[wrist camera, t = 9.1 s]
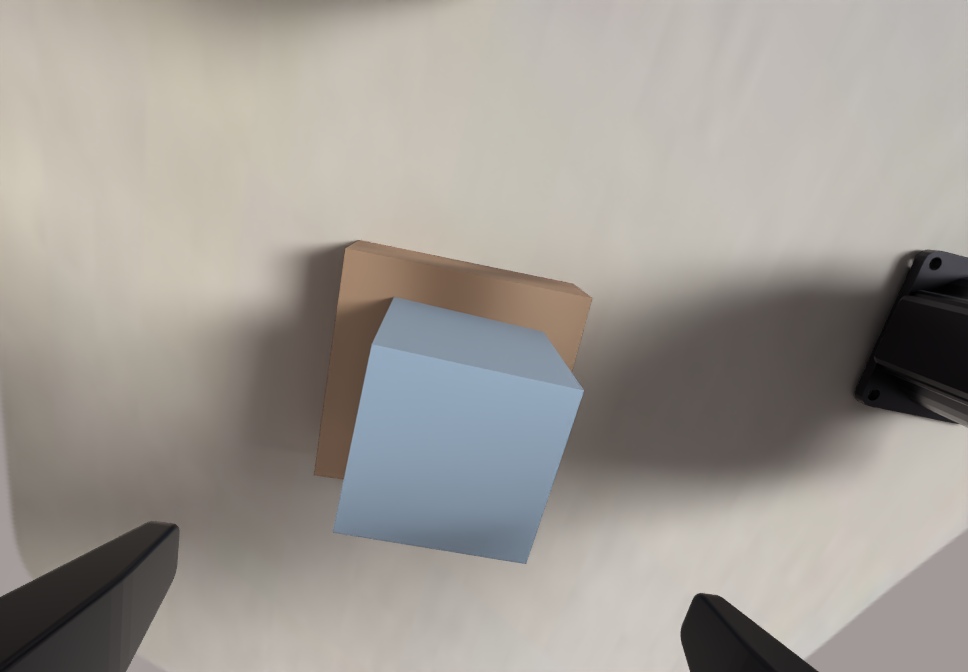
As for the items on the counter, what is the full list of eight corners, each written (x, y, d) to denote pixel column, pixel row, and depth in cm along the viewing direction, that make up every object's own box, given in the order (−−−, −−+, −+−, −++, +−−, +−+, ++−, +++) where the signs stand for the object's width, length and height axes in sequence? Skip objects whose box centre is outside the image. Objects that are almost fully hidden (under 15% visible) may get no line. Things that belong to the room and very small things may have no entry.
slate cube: (543, 331, 16) (584, 390, 12) (504, 462, 18) (526, 564, 13) (394, 296, 16) (372, 344, 11) (364, 435, 17) (333, 532, 12)
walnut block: (570, 281, 19) (592, 298, 16) (522, 463, 21) (534, 506, 18) (361, 238, 18) (345, 248, 15) (332, 434, 20) (313, 475, 17)
